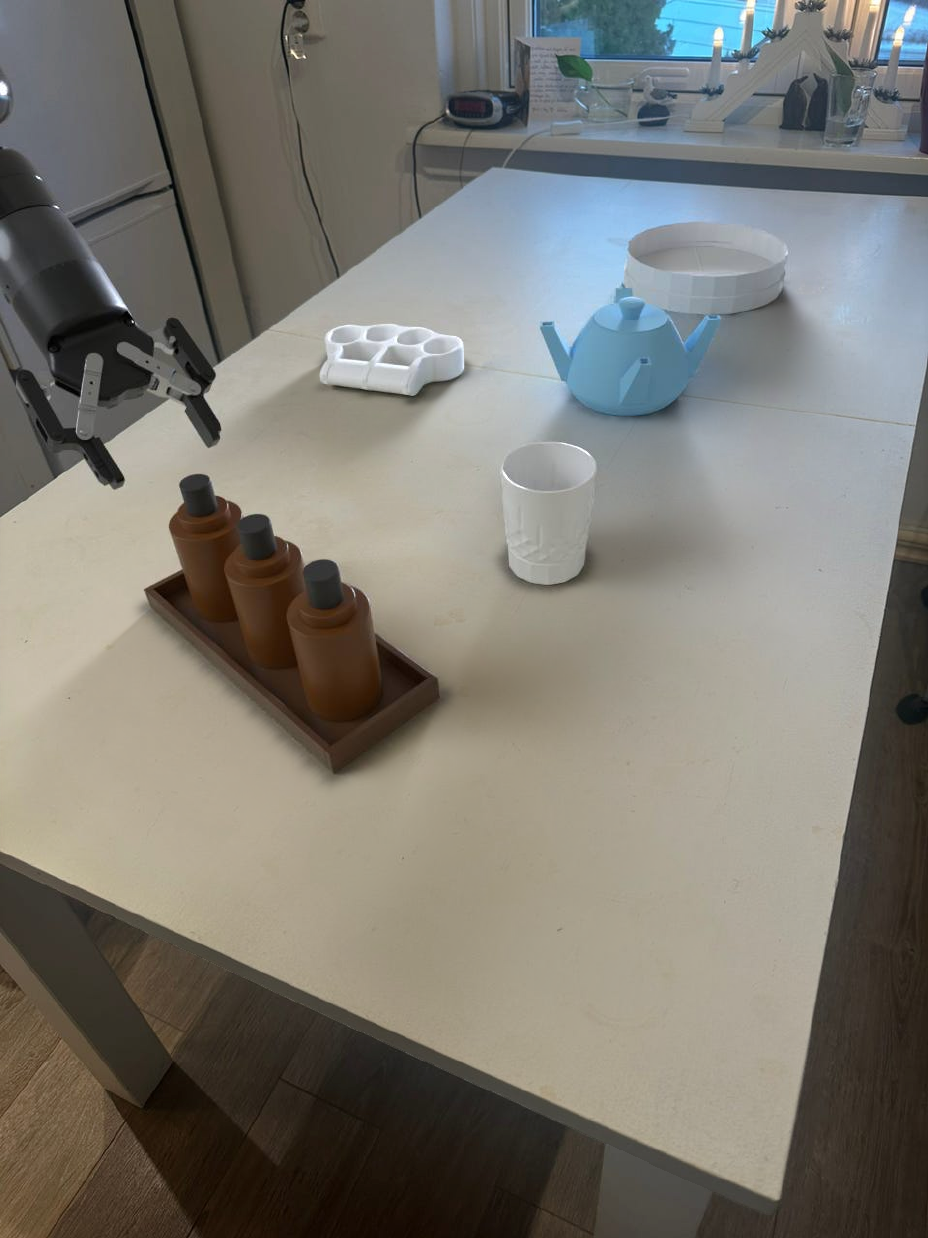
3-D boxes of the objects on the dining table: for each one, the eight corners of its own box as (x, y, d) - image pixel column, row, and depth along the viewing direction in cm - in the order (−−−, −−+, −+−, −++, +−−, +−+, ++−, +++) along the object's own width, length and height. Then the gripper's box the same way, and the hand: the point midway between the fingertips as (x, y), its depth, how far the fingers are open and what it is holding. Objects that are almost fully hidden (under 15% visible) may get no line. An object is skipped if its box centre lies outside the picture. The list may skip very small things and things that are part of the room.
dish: (768, 254, 132) (775, 219, 128) (796, 314, 115) (804, 275, 112) (619, 256, 134) (622, 222, 131) (626, 315, 118) (629, 277, 114)
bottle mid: (257, 678, 68) (222, 556, 60) (240, 633, 72) (205, 513, 64) (328, 655, 70) (303, 532, 62) (308, 612, 74) (282, 492, 66)
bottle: (227, 631, 72) (190, 511, 64) (181, 606, 75) (140, 488, 67) (277, 593, 76) (248, 475, 68) (231, 571, 78) (198, 454, 70)
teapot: (720, 389, 101) (735, 297, 94) (639, 439, 93) (649, 342, 86) (615, 352, 109) (622, 264, 102) (534, 394, 102) (534, 303, 95)
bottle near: (319, 732, 63) (290, 608, 55) (297, 681, 67) (267, 558, 60) (394, 706, 65) (376, 581, 57) (368, 658, 69) (348, 535, 61)
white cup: (484, 567, 78) (480, 471, 71) (536, 526, 82) (537, 432, 76) (556, 602, 74) (560, 503, 67) (607, 556, 78) (615, 459, 72)
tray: (150, 607, 76) (143, 589, 75) (248, 555, 81) (244, 536, 80) (333, 774, 61) (329, 755, 60) (440, 697, 66) (438, 678, 65)
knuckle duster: (298, 388, 106) (350, 338, 116) (436, 406, 101) (477, 352, 111) (293, 362, 104) (346, 313, 114) (434, 379, 99) (477, 327, 109)
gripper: (-37, 286, 62) (90, 484, 63) (145, 233, 69) (255, 411, 70) (-33, 338, 68) (82, 515, 70) (132, 284, 75) (234, 446, 77)
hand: (169, 463), depth 70 cm, fingers open, 8 cm apart
